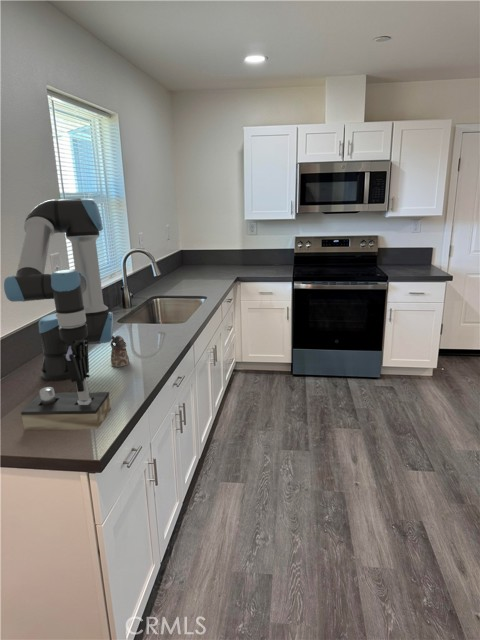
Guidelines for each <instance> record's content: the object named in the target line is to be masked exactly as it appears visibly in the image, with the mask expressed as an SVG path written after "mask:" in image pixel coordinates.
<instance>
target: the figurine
mask: <svg viewBox="0 0 480 640" xmlns="http://www.w3.org/2000/svg"><path fill="white" fill-rule="evenodd" d="M110 346H111V351H110V363H111V366H112V367H117V368H118V367H119V368H121V367H123V366H128V365H129V364H130V358H129V355H128V351H127V343H126V342H125V340H124V337H122V336H121V335H119V334H117V335H115V336H114V335H113V336H112V340H111V341H110Z"/></svg>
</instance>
